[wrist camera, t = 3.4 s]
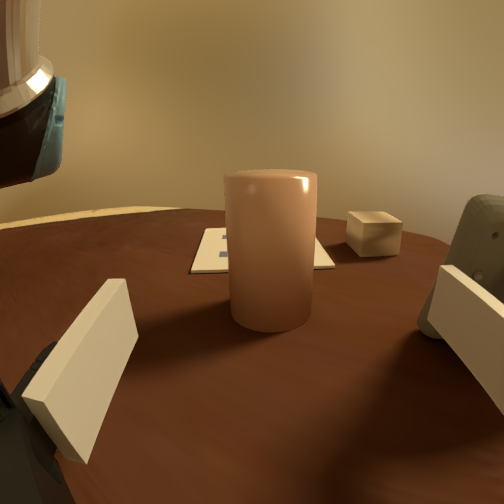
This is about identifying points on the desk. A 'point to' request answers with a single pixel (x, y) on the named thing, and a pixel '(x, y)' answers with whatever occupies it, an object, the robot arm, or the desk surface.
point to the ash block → (373, 233)
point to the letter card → (216, 260)
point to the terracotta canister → (270, 246)
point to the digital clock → (475, 251)
